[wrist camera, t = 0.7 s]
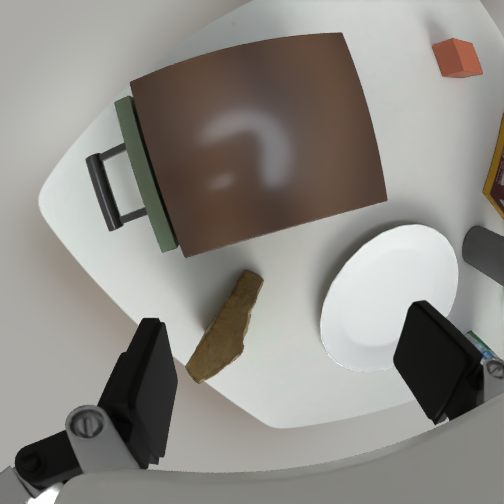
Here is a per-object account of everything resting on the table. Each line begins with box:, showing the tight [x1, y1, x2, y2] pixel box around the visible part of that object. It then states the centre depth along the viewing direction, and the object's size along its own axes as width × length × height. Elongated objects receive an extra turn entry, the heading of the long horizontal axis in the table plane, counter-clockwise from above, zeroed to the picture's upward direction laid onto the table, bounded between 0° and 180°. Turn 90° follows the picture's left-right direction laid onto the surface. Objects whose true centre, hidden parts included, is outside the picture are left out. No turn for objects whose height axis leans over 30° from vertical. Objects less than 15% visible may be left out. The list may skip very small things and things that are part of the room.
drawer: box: [86, 96, 179, 253], centre depth 20 cm, size 18×11×8 cm, turn 106°
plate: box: [320, 224, 459, 372], centre depth 31 cm, size 21×21×2 cm
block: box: [432, 38, 483, 78], centre depth 19 cm, size 4×4×4 cm
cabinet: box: [130, 33, 387, 258], centre depth 20 cm, size 15×13×10 cm
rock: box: [185, 270, 264, 384], centre depth 28 cm, size 11×9×10 cm
